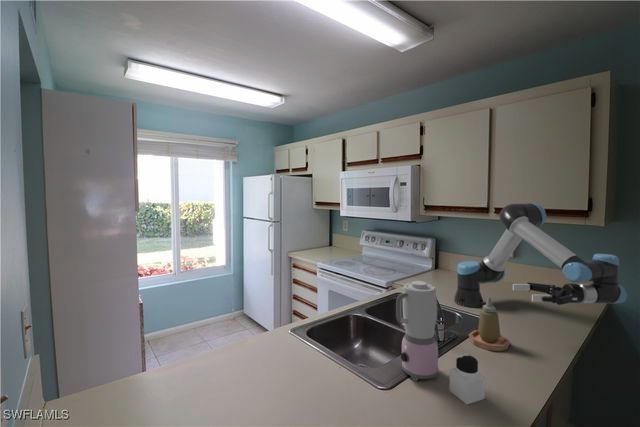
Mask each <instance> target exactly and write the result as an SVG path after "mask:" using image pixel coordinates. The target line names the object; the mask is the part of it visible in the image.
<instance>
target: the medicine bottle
mask: <svg viewBox="0 0 640 427" xmlns="http://www.w3.org/2000/svg"><path fill="white" fill-rule="evenodd" d="M455 360H456V361H455V368H451V369H449V392H451V393H452V395H454V396H455V397H457V398H458V399H459V400H460V401H462V402H463V403H464V404H465V405H470V404H474V403H476V402H480V401H483V400H485V397H486V392H485V390H486V389H485V388H486V387H485V386H486V384H485V380H486V379H485V376H484V375H482V374H481V373H479V372H478V371H479V362H478V360H477V358H476V357H474V356H472V355H469V354H464V353H463V354H457V356H456V357H455Z"/></svg>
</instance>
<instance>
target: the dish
mask: <svg viewBox="0 0 640 427" xmlns="http://www.w3.org/2000/svg"><path fill="white" fill-rule="evenodd" d="M468 338H469V339H470V342H471V343H472V344H473V345H475V347H478V348H481V349H483V350H487V351H492V352H503V351H507V350H508V349H509V346H510V345H511V340H509V339H508V338H507V336H505V335H504V334H502V333H500V336H499V338H498V340H497V342H496V343H488V342H485V341H483V340H482V339H481V337H480V334H479V331H478V329H473V330H472V331H470V333H468Z"/></svg>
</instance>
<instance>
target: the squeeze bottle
mask: <svg viewBox="0 0 640 427" xmlns="http://www.w3.org/2000/svg"><path fill="white" fill-rule="evenodd" d="M485 302H486V303H485V304H483V306H482V309H481V310H480V313H479V314H480V315H479V320H478V327H477V328H478V329H477V330H478V331H479V334H480V337H481V339H482V340H483V341H485V342H488V343H496V342H497V340H498V338H499V336H500V334H501V331H500V321H499V313H498V312H496V310H497V308H496V307H495V306H494V305H493V302H492V299H491V297H487V298H486V301H485Z"/></svg>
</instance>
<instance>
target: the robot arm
mask: <svg viewBox="0 0 640 427" xmlns="http://www.w3.org/2000/svg"><path fill="white" fill-rule="evenodd" d="M498 216H499V221H500V223H501V225H502V226H503V227H504V228H505V230H504V232H503V233H502V235H501V237H500V239H499V240H498V241H497V242H496V245H495V246H494V247H493V249H492V251H491V252H490V253H489V255H488V256H487V255H486V256H484V257H483V259H481V260H482V261H481V262H479V261H475V260H466V261H465V260H464V261H461V262H459V263H458V264H457V271H456V273H457V275H456V276H457V281H456V282H457V285H456V286H457V288H456V291H455V294H454V297H453V300H454V301H455V302H457V303H459V304H461V305H460V306H462V305H464V306H463V307H466V306H469V307H468V308H480V307H483V305H484V299H483V296H482V293H481V285H482V284H484V285H485V284H490V283H493V284H494V283H497V282H500V281H502V280H503V279H504V278H505V275H506V272H505V271H506V270H505V269H506V266H505V264H506V263H507V261H508V260H509V258H510V257H511V255H512V254H513V252H514V251H515V250H516V248H517V247H518V245H519V244H520V243H521V241H522V240H524V242H525V241H526V243H528V244H529V245H530V246H532V247H533V248H534V249H535V250H537V251H538V252H539V253H541V254H542V255H543V256H545V257H546V258H548V259H549V260H550V261H552V263H554V264H555V265H556V266H558V267H559V268H560V269H561V270H562V273H563V276H564V278H565V279H566V280H568V281H569V282H571V283H565V284H564V285H563V286H562V287H560V286H556V285H555V284H545V283H536V282H530V281H529V282H527V283H513V284H512V291H515V292H516V291H518V292H522V291H523V292H524V291H525V292H530V291H533V292H540V293H544V294H531V302H532V303H552V304H556V305H558V306H561V305H566V304H582V303H583V304H584V305H587V304H609V305H612V304H613V305H614V304H622V303H624V302H625V301H626V300H627V298H628V293H627V292H626V291H627V290H626V289H625V288H624V286H622V285H620V284H619V277H620V276H619V275H620V259H619V257H618V256H617V255H614V254H610V253H609V254H607V253H595V254H594V255H593V256H592V260H584V259H583V258H581V257H580V256H578V255H577V254H575V253H574V252H572V250H570V249H568V248H567V247H566V246H564V245H563V244H562V243H560V242H558V241H557V240H556V239H555V238H553V237H552V236H550V235H549V234H547V233H545V232H544V231H543V230H542V229H540V228H539V227H540V226H542V225H543V224H544V223H545V222H546V220H547V213H546V210H545V208H544V207H543V206H541V205H540V204H538V203H533V202H528V203H510V204H507V205H505V206H504V207H503V208H502V209H501V211H500V213H499V214H498ZM587 282H592V283H587ZM455 302H454V303H455ZM459 304H458V305H459Z"/></svg>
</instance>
